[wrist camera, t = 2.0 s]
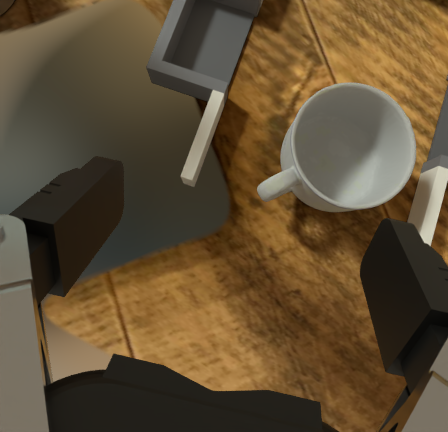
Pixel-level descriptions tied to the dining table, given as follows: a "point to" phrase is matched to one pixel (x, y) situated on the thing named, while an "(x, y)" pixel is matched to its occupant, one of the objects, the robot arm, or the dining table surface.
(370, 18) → the dining table surface
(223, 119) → the dining table surface
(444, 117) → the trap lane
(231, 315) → the dining table surface
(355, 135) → the teacup
